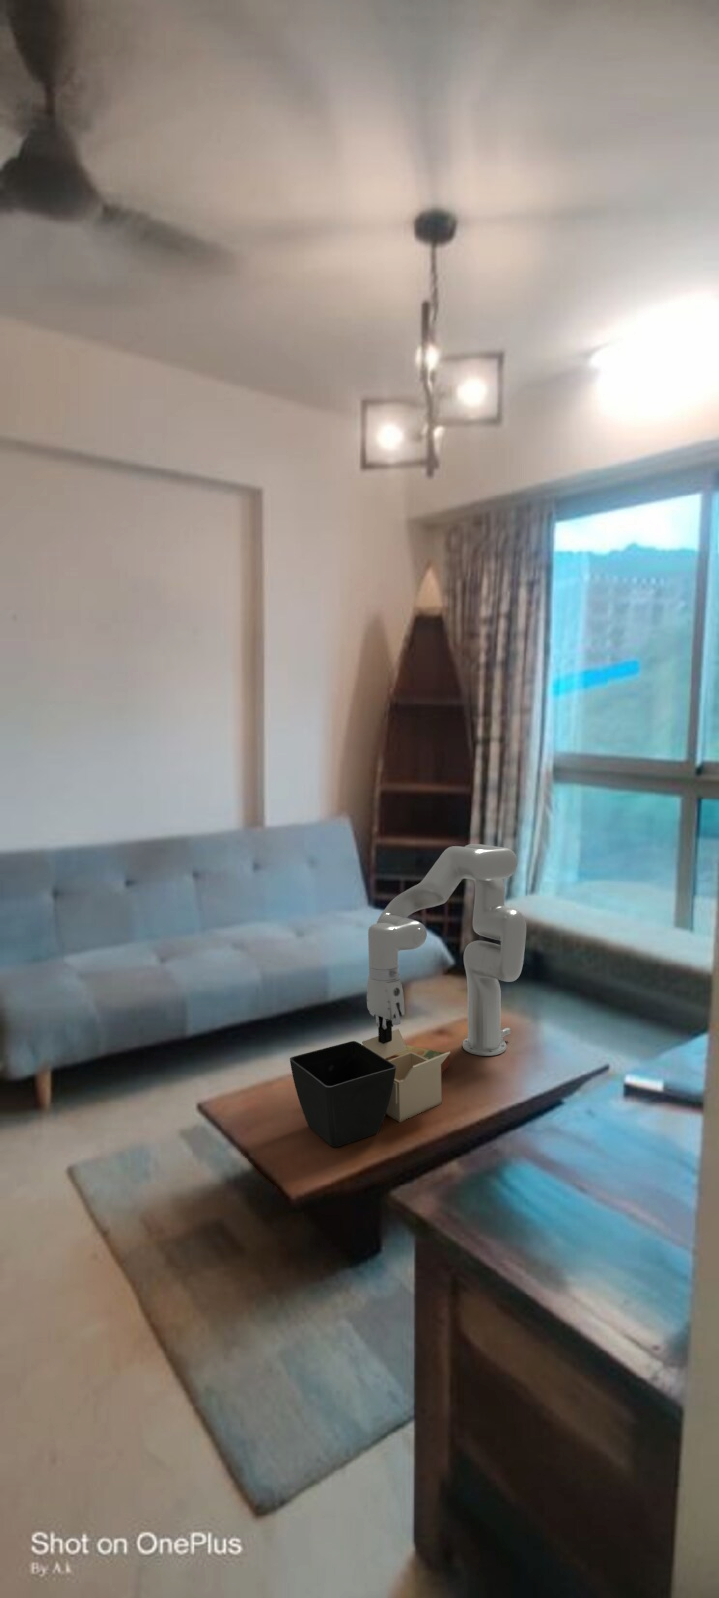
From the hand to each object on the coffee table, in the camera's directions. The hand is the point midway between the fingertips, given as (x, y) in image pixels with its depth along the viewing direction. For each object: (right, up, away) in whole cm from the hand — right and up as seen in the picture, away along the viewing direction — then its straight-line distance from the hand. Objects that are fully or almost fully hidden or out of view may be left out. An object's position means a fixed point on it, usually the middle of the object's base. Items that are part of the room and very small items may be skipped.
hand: (385, 1041), depth 203 cm
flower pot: (-10, -16, -15) cm, 25 cm away
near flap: (+10, -2, -12) cm, 15 cm away
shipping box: (+5, -15, -4) cm, 16 cm away
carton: (+10, -13, +17) cm, 23 cm away
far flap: (0, -1, 0) cm, 1 cm away
